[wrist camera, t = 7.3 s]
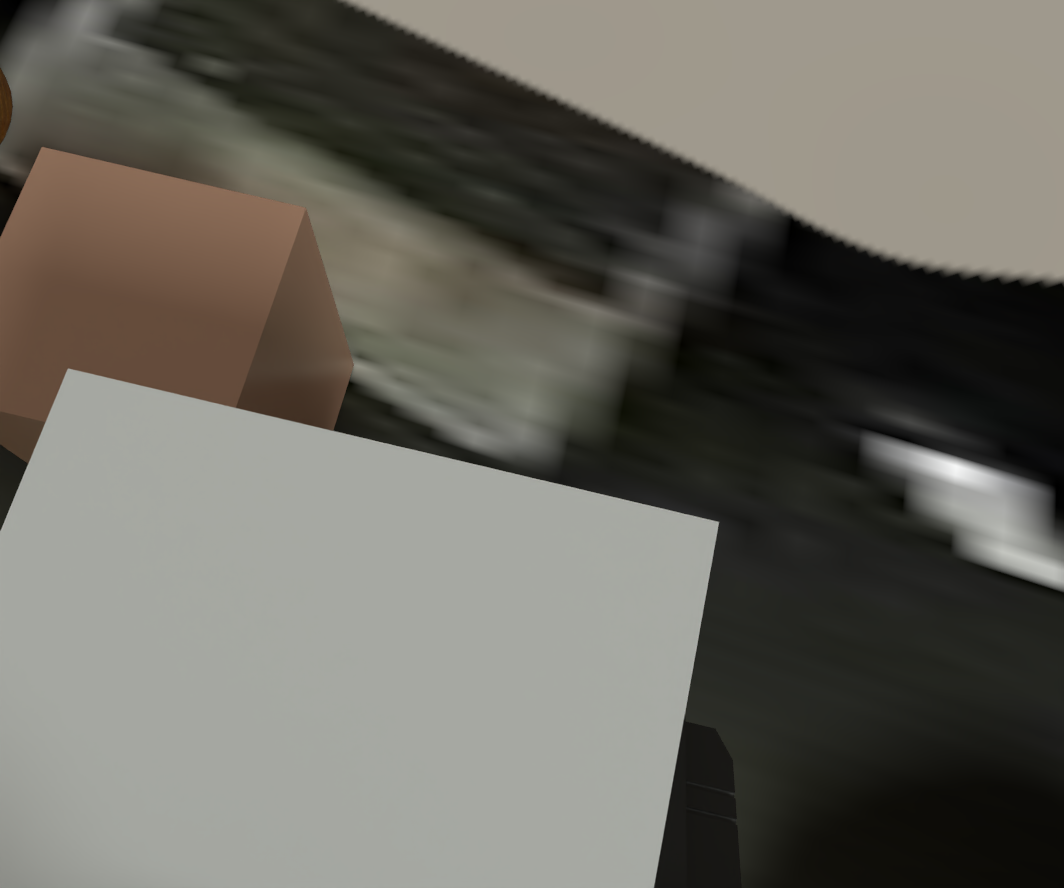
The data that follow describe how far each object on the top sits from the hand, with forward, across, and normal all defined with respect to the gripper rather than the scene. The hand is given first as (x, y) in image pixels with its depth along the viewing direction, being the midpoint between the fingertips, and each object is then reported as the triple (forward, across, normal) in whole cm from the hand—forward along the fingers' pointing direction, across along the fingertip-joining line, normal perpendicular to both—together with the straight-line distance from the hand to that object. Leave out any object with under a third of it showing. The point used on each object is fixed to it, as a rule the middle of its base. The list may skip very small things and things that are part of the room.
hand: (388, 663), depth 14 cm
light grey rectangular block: (+2, 0, +4) cm, 5 cm away
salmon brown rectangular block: (+16, +9, +6) cm, 20 cm away
